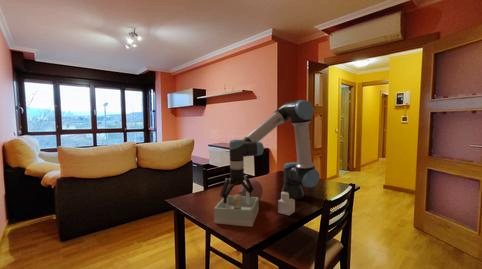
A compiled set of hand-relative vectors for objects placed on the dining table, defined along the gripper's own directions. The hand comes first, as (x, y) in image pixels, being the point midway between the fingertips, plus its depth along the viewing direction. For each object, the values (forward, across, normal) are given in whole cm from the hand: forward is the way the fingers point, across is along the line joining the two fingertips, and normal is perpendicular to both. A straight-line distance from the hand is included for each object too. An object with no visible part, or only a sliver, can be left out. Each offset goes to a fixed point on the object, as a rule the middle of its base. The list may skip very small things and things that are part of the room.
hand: (237, 206), depth 124 cm
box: (+6, 0, 0) cm, 6 cm away
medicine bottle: (+6, -26, +11) cm, 29 cm away
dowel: (+6, 0, 0) cm, 6 cm away
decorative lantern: (+6, -16, -13) cm, 21 cm away
